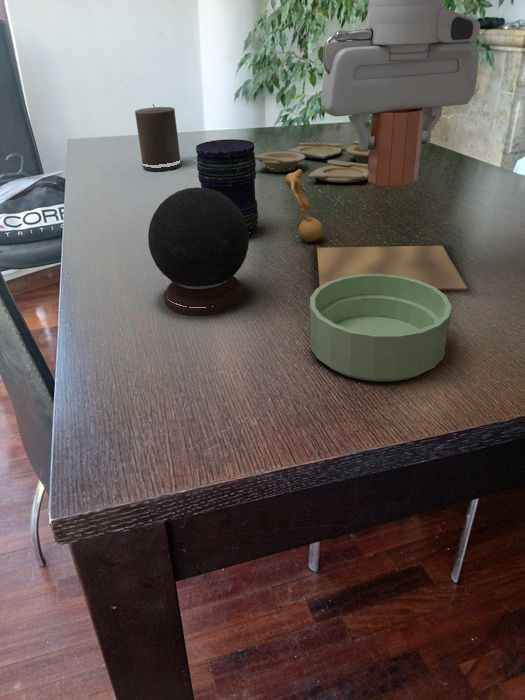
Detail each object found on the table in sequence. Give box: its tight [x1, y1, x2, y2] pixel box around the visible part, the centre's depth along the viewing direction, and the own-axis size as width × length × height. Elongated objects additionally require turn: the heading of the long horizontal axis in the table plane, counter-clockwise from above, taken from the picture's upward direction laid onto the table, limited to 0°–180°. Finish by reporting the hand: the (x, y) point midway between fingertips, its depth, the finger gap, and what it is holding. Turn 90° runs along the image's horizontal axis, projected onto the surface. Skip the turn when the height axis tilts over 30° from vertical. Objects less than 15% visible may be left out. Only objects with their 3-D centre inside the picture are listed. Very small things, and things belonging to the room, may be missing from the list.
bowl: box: [309, 274, 452, 383], centre depth 64 cm, size 15×15×6 cm
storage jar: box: [195, 138, 259, 240], centre depth 97 cm, size 10×10×15 cm
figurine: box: [285, 168, 323, 243], centre depth 93 cm, size 8×6×12 cm
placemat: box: [316, 245, 468, 292], centre depth 85 cm, size 20×16×1 cm
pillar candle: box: [134, 104, 182, 172], centre depth 142 cm, size 10×10×15 cm
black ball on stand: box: [147, 187, 250, 317], centre depth 75 cm, size 13×13×15 cm
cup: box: [366, 108, 425, 187], centre depth 76 cm, size 7×7×9 cm
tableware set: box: [255, 139, 369, 184], centre depth 139 cm, size 35×29×4 cm
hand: (394, 146), depth 76 cm, fingers closed on cup, 7 cm apart
